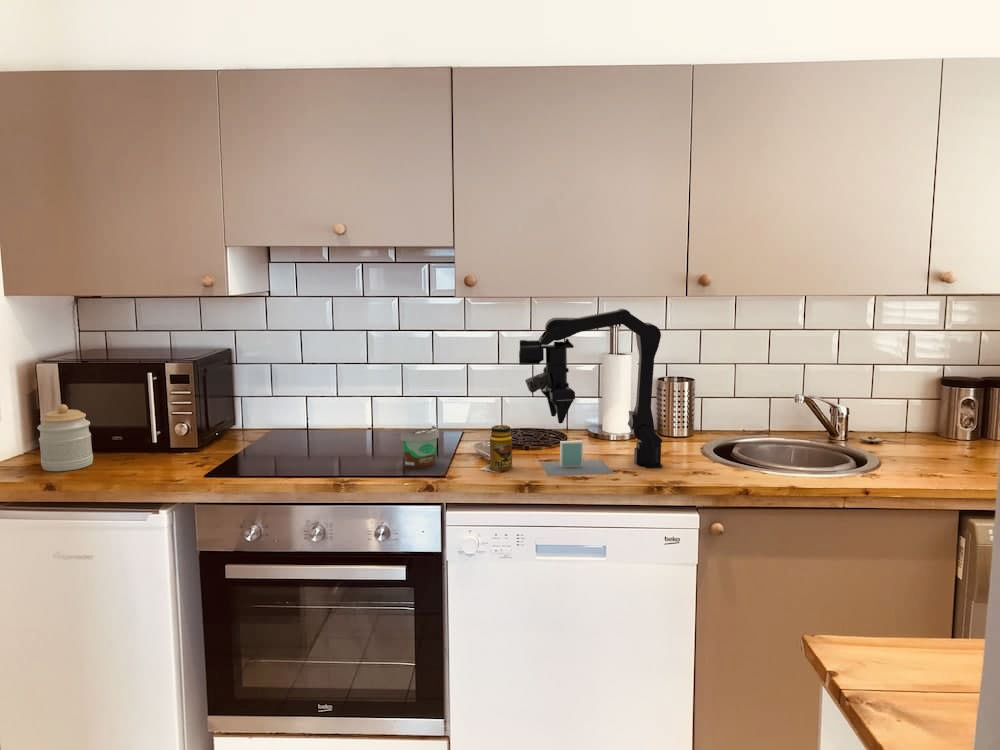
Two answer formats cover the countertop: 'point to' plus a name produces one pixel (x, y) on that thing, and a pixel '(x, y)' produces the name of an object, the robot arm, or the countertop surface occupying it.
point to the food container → (420, 448)
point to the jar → (65, 440)
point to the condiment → (500, 449)
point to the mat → (576, 468)
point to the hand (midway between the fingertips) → (556, 419)
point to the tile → (571, 453)
